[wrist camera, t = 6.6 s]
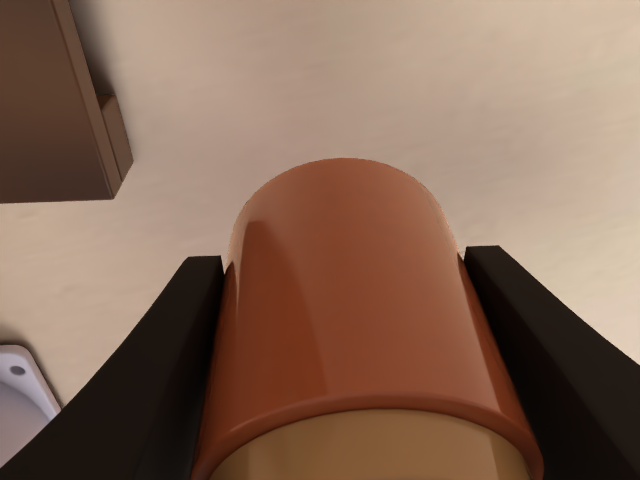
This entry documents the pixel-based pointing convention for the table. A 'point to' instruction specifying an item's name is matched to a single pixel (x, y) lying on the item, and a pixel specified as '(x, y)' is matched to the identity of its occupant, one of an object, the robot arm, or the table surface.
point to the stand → (54, 112)
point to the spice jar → (354, 342)
